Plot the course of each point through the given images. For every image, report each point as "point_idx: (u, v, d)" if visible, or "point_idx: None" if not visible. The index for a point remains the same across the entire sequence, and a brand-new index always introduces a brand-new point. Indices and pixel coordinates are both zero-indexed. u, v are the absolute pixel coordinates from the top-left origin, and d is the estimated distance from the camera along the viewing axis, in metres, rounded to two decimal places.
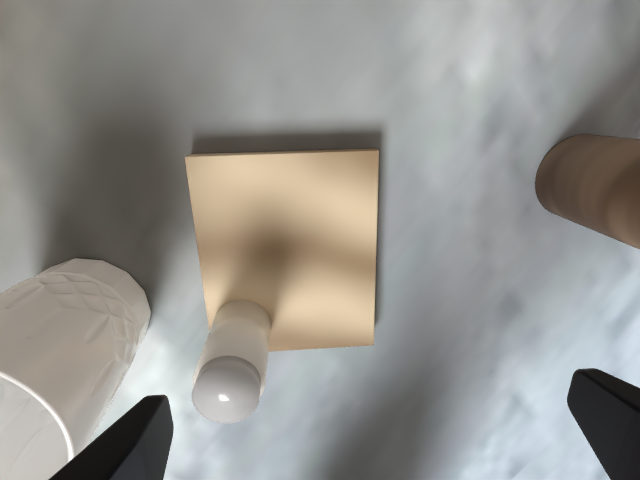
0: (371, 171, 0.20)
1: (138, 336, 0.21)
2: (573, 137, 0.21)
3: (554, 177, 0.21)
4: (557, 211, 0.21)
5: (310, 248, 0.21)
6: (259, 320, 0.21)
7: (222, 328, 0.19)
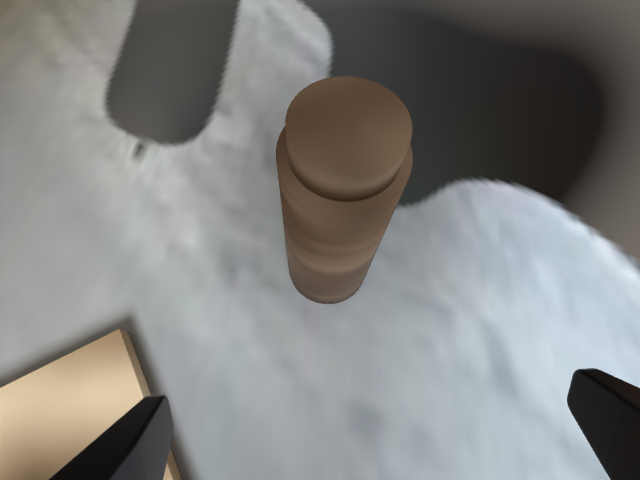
0: (118, 350, 0.20)
1: None
2: None
3: (290, 271, 0.22)
4: (317, 295, 0.21)
5: None
6: None
7: None
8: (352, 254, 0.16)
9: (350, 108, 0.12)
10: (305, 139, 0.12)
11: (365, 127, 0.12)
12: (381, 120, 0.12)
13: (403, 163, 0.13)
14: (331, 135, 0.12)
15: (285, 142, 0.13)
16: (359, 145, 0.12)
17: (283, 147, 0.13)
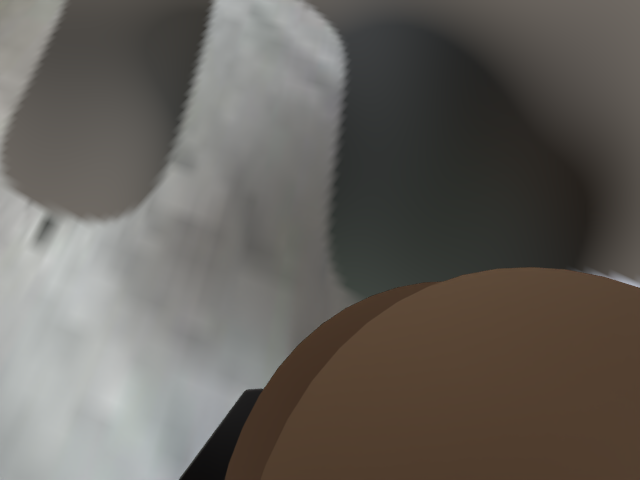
0: None
1: None
2: None
3: None
4: None
5: None
6: None
7: None
8: None
9: None
10: None
11: None
12: None
13: None
14: None
15: None
16: None
17: None
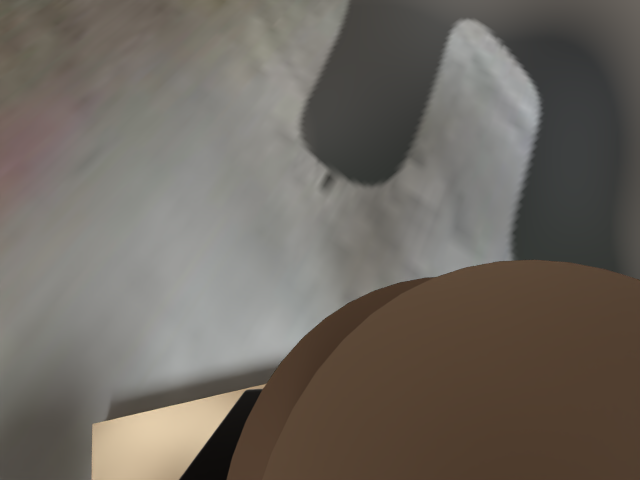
0: None
1: None
2: None
3: None
4: None
5: None
6: None
7: None
8: None
9: None
10: None
11: None
12: None
13: None
14: None
15: None
16: None
17: None
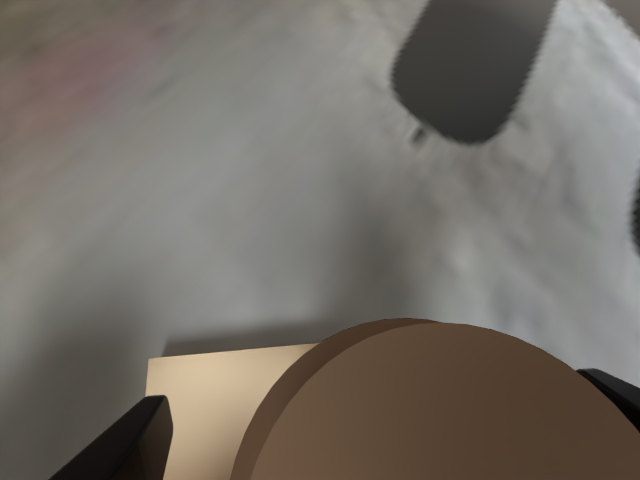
0: None
1: None
2: None
3: None
4: None
5: None
6: None
7: None
8: None
9: None
10: None
11: None
12: None
13: None
14: None
15: None
16: None
17: None
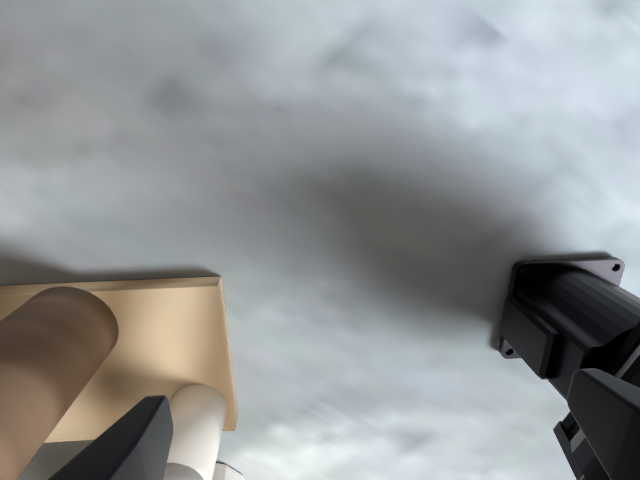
0: (4, 302, 0.20)
1: None
2: None
3: None
4: (105, 353, 0.19)
5: None
6: None
7: None
8: (15, 436, 0.13)
9: None
10: None
11: None
12: None
13: None
14: None
15: None
16: None
17: None
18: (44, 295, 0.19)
